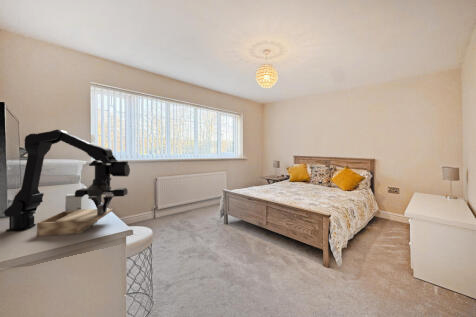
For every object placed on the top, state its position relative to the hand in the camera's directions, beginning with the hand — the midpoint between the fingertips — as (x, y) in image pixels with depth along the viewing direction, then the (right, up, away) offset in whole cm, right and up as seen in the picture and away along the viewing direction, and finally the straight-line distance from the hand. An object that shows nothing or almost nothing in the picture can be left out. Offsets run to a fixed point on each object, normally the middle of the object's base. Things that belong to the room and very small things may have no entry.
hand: (102, 212), depth 90 cm
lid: (-5, -1, -1) cm, 6 cm away
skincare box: (-19, -6, +9) cm, 22 cm away
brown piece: (-12, -6, -2) cm, 14 cm away
